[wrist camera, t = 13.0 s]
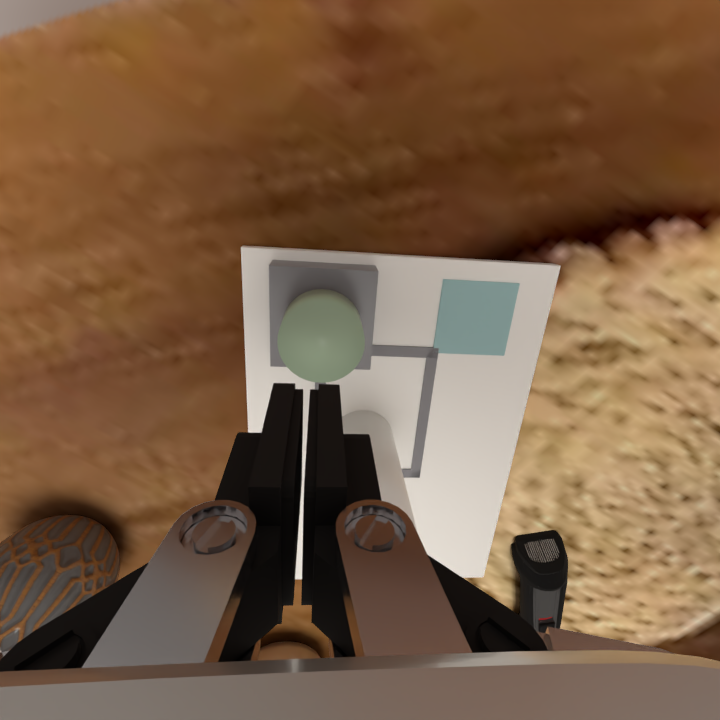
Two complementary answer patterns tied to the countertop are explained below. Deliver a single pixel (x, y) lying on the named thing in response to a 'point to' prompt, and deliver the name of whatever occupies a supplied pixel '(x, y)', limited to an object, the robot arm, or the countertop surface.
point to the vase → (52, 572)
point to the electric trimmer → (541, 578)
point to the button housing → (308, 276)
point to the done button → (321, 336)
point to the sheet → (428, 380)
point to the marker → (382, 456)
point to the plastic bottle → (286, 651)
